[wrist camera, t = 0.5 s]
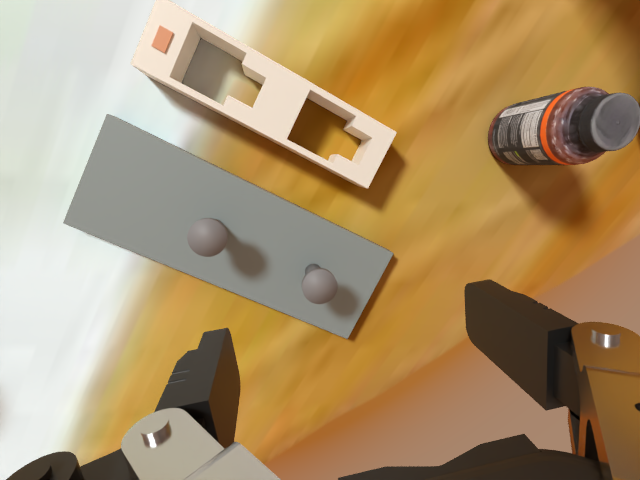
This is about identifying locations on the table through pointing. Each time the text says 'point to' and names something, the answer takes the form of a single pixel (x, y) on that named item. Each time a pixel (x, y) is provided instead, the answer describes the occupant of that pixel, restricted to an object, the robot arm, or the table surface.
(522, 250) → the table surface
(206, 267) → the board
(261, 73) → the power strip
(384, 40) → the table surface
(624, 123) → the supplement bottle
